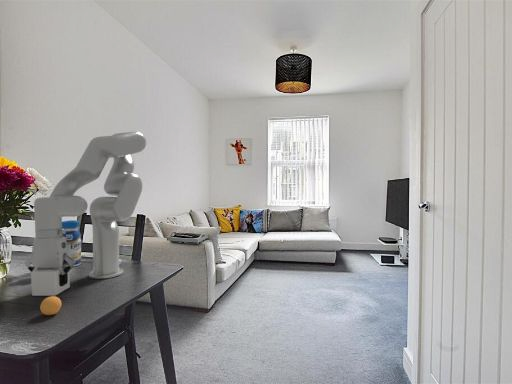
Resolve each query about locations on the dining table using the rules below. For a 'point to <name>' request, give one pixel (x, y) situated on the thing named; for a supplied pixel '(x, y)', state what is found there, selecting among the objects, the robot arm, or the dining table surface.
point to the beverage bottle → (73, 240)
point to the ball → (50, 305)
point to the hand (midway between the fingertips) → (51, 284)
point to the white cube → (47, 282)
